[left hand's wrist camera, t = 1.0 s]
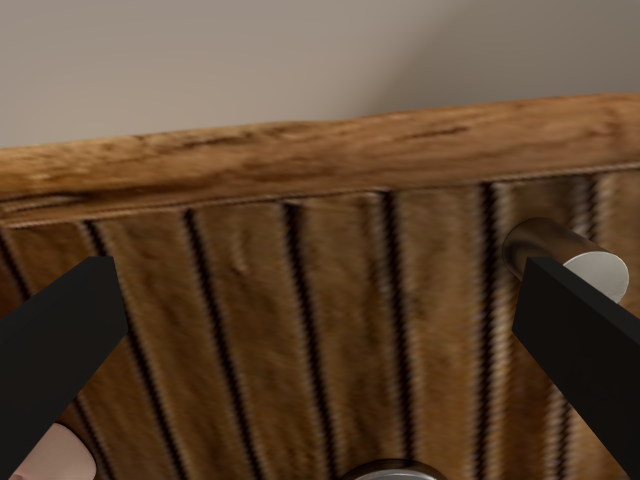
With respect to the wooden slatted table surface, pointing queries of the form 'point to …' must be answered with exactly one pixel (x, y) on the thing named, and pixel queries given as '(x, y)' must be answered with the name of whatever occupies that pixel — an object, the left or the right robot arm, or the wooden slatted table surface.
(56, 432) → the anatomical model
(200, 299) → the wooden slatted table surface
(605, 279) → the canister
